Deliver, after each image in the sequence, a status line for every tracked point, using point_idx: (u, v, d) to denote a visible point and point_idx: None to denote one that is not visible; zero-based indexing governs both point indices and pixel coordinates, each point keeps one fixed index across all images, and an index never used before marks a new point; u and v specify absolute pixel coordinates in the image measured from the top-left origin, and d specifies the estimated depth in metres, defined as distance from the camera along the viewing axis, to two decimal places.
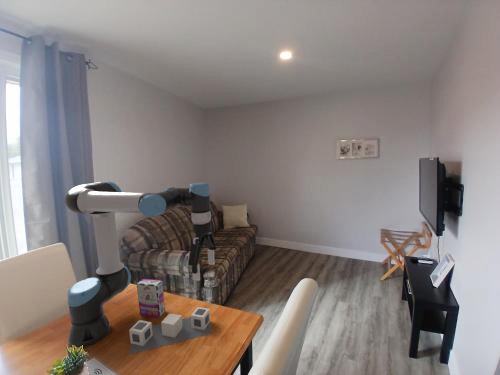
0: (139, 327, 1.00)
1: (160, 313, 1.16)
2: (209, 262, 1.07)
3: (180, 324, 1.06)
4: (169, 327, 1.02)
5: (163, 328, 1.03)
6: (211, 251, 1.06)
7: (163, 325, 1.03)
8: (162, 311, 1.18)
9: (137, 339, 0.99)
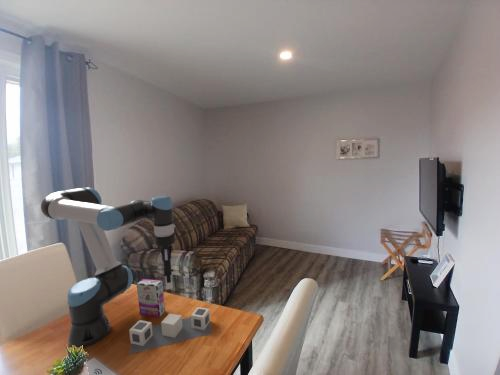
0: (139, 327, 1.00)
1: (160, 313, 1.16)
2: None
3: (180, 324, 1.06)
4: (169, 327, 1.02)
5: (163, 328, 1.03)
6: None
7: (163, 325, 1.03)
8: (162, 311, 1.18)
9: (137, 339, 0.99)
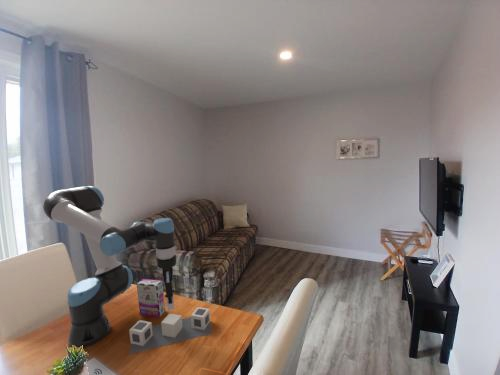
0: (139, 327, 1.00)
1: (160, 313, 1.16)
2: None
3: (180, 324, 1.06)
4: (169, 327, 1.02)
5: (163, 328, 1.03)
6: None
7: (163, 325, 1.03)
8: (162, 311, 1.18)
9: (137, 339, 0.99)
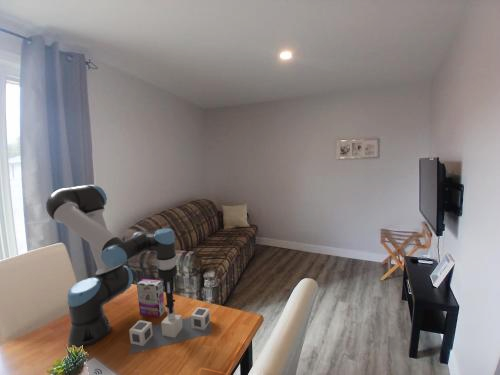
0: (139, 327, 1.00)
1: (160, 313, 1.16)
2: None
3: (180, 324, 1.06)
4: (169, 327, 1.02)
5: (163, 328, 1.03)
6: None
7: (163, 325, 1.03)
8: (162, 311, 1.18)
9: (137, 339, 0.99)
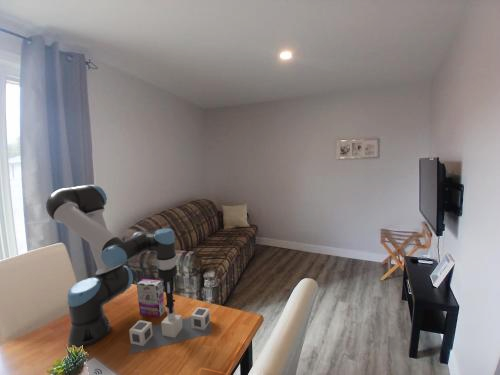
0: (139, 327, 1.00)
1: (160, 313, 1.16)
2: None
3: (180, 324, 1.06)
4: (169, 327, 1.02)
5: (163, 328, 1.03)
6: None
7: (163, 325, 1.03)
8: (162, 311, 1.18)
9: (137, 339, 0.99)
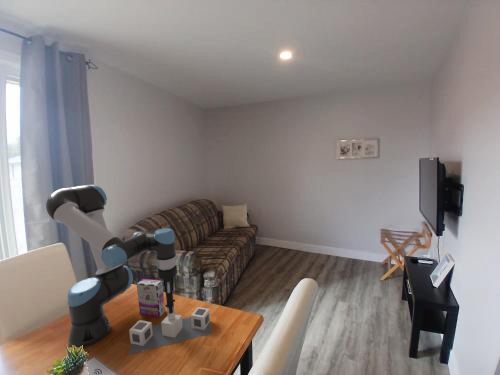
0: (139, 327, 1.00)
1: (160, 313, 1.16)
2: None
3: (180, 324, 1.06)
4: (169, 327, 1.02)
5: (163, 328, 1.03)
6: None
7: (163, 325, 1.03)
8: (162, 311, 1.18)
9: (137, 339, 0.99)
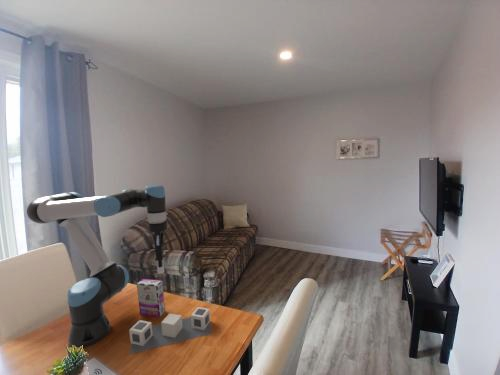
0: (139, 327, 1.00)
1: (160, 313, 1.16)
2: None
3: (180, 324, 1.06)
4: (169, 327, 1.02)
5: (163, 328, 1.03)
6: None
7: (163, 325, 1.03)
8: (162, 311, 1.18)
9: (137, 339, 0.99)
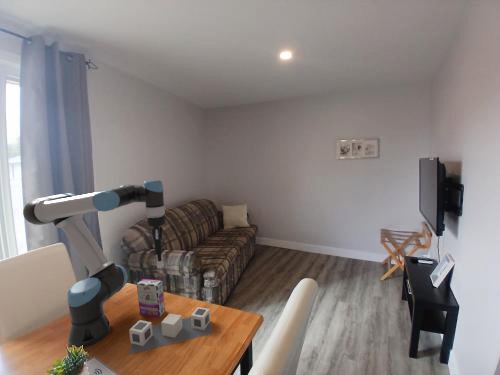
0: (139, 327, 1.00)
1: (160, 313, 1.16)
2: None
3: (180, 324, 1.06)
4: (169, 327, 1.02)
5: (163, 328, 1.03)
6: None
7: (163, 325, 1.03)
8: (162, 311, 1.18)
9: (137, 339, 0.99)
